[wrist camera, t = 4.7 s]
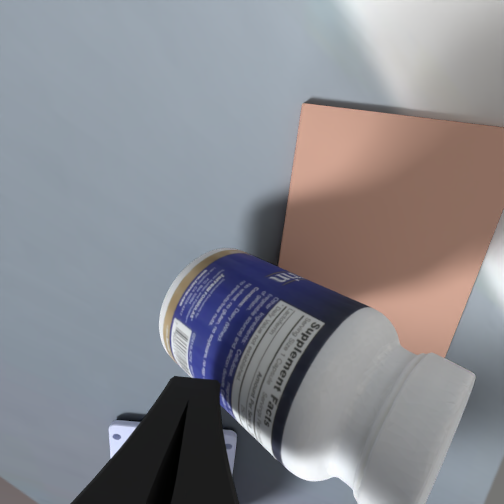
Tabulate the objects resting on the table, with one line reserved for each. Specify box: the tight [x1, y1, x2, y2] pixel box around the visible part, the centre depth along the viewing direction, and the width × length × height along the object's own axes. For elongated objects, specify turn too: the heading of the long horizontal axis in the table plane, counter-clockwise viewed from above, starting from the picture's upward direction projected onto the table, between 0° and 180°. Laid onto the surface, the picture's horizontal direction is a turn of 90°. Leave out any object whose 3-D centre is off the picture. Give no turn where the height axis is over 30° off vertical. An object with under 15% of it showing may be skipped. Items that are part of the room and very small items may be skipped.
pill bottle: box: [159, 248, 476, 504], centre depth 11 cm, size 6×6×10 cm
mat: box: [278, 103, 504, 358], centre depth 16 cm, size 18×10×1 cm, turn 174°
